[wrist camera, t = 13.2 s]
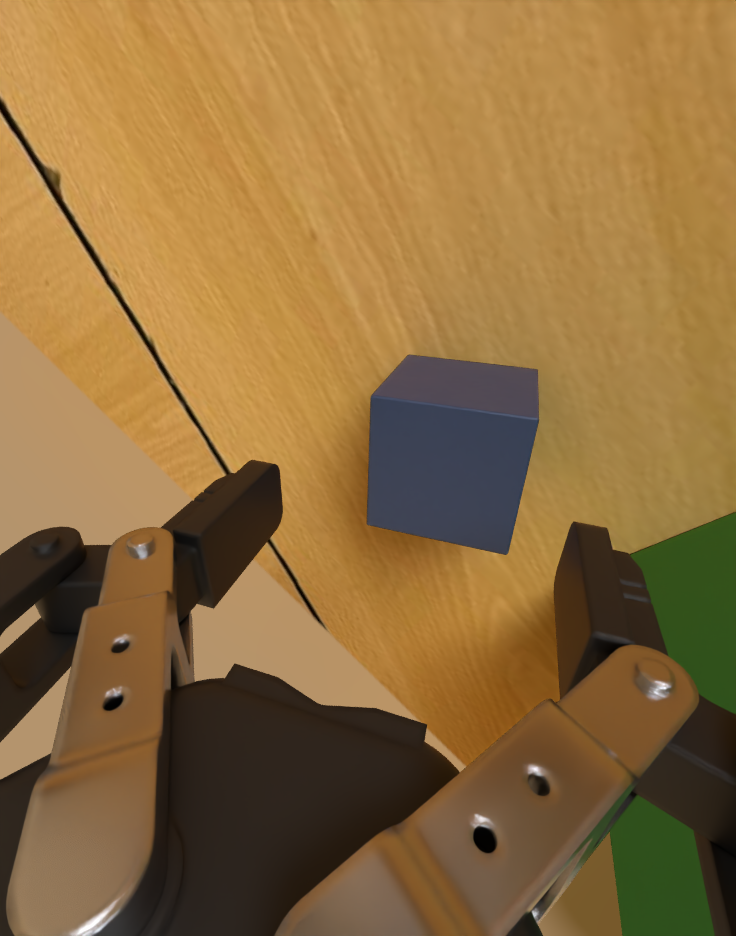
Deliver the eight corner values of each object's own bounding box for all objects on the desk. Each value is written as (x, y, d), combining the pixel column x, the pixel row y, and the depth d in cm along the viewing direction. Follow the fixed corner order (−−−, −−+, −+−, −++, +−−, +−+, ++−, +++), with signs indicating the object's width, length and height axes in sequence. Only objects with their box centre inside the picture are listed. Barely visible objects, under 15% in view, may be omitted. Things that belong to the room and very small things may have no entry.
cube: (407, 353, 18) (369, 395, 14) (538, 368, 17) (539, 418, 13) (400, 463, 21) (365, 525, 16) (513, 483, 19) (507, 556, 15)
